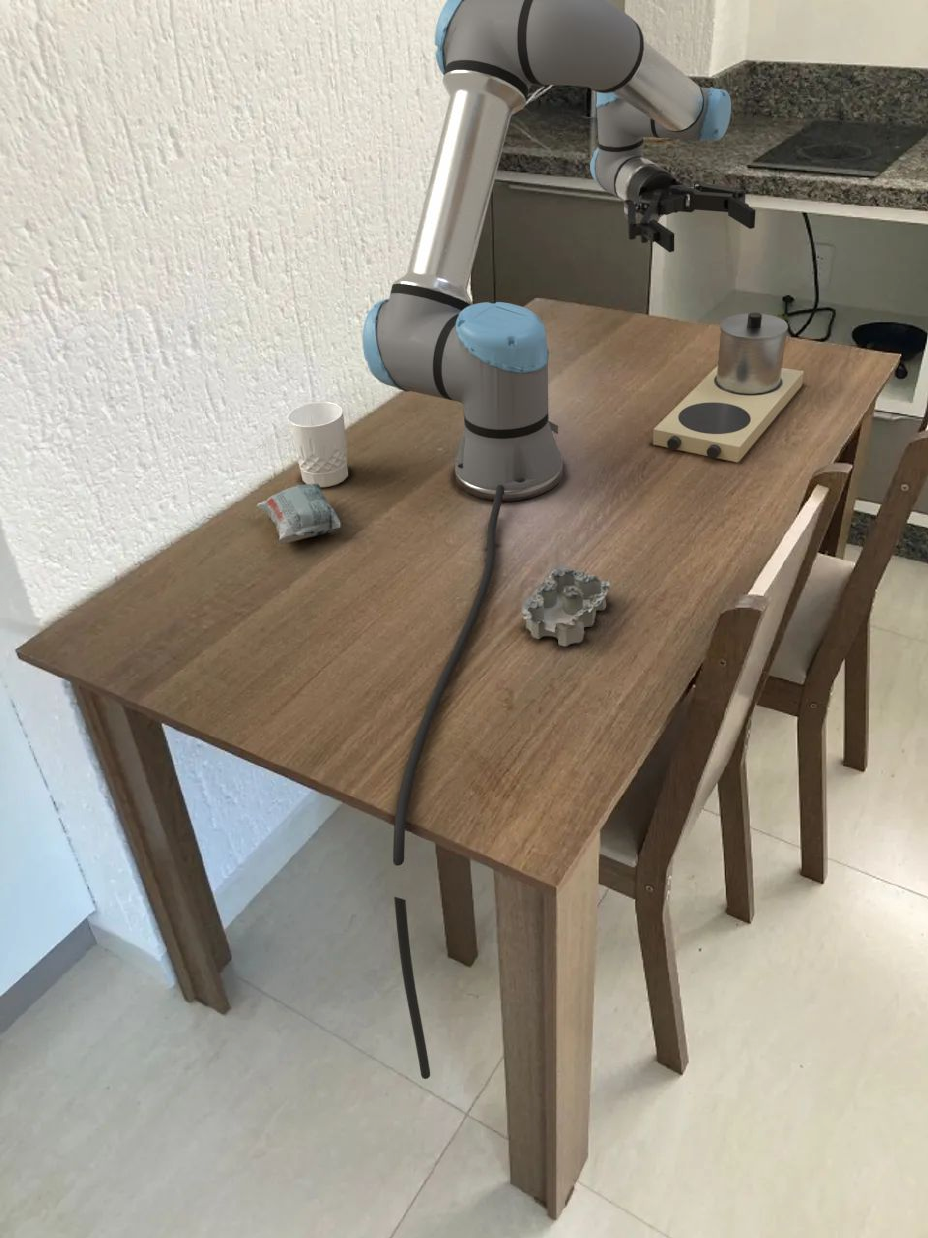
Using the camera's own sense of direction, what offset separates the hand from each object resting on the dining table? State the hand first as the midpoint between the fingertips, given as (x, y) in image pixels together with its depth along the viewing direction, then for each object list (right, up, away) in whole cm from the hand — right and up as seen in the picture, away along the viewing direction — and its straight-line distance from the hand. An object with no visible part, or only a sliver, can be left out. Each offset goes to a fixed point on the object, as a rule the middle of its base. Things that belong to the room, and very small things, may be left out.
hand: (712, 231), depth 153 cm
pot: (+7, -21, +6) cm, 23 cm away
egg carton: (-26, -58, -35) cm, 73 cm away
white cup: (-58, -38, -4) cm, 69 cm away
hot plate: (+3, -27, +3) cm, 27 cm away
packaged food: (-60, -46, -16) cm, 77 cm away
